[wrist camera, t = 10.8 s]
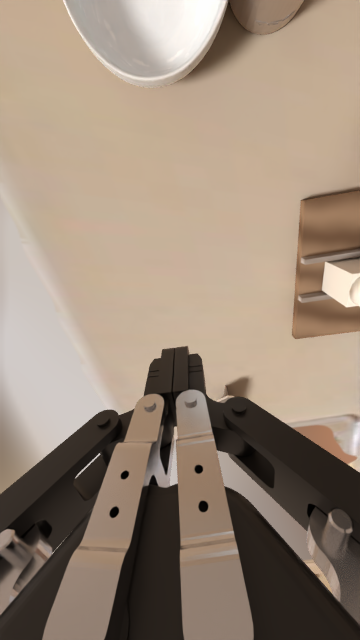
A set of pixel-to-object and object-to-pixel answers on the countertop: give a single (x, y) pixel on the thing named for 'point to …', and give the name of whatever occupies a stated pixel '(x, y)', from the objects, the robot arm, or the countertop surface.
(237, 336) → the countertop surface
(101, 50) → the cereal bowl
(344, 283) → the plunger knob
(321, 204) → the knob mount
